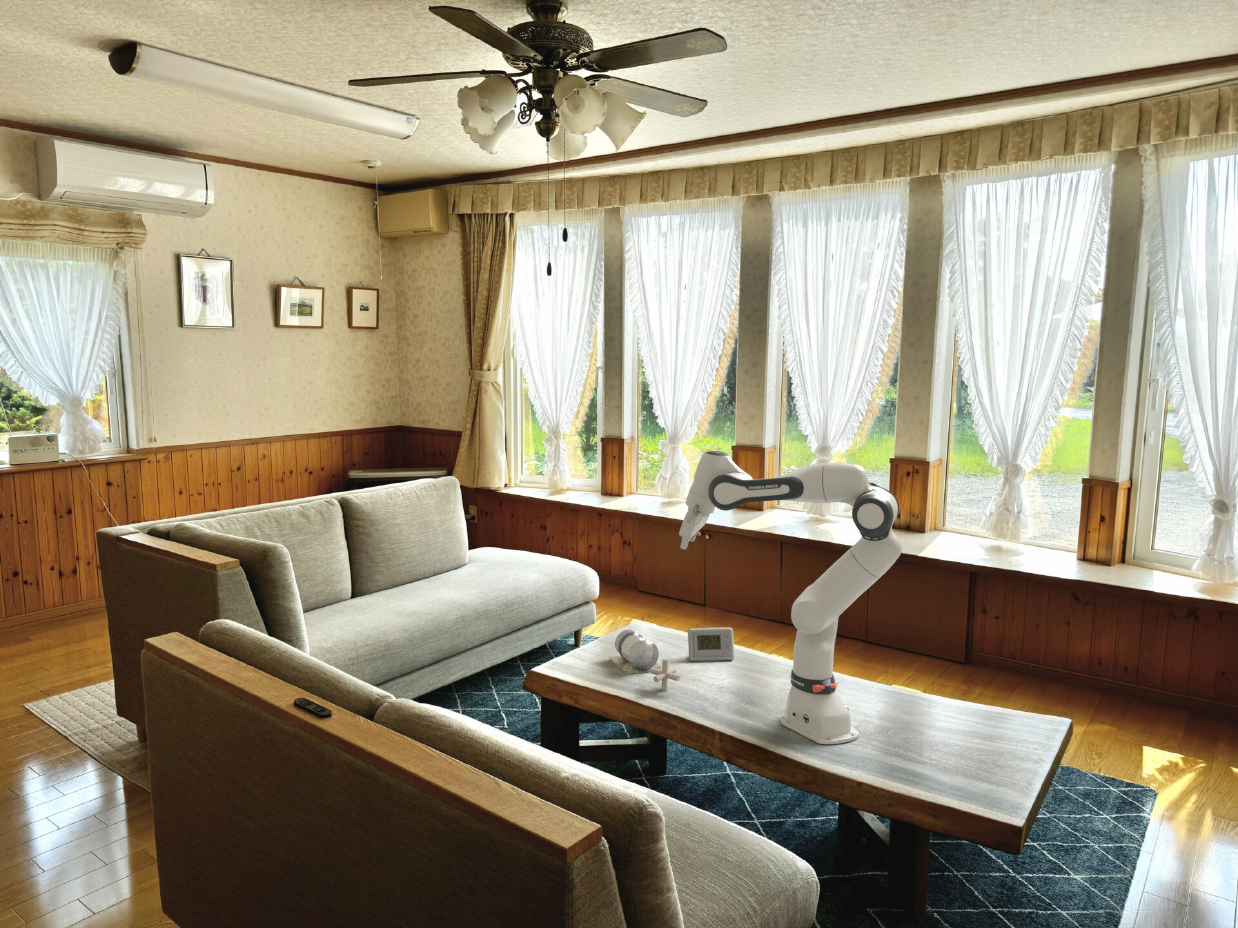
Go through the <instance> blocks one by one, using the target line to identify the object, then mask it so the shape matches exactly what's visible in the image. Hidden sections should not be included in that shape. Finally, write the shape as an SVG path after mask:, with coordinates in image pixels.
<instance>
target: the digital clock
mask: <svg viewBox="0 0 1238 928" xmlns="http://www.w3.org/2000/svg"><path fill="white" fill-rule="evenodd" d="M687 641H688V642H687V643H688V647H687V648H688V658H689V661H691V662H699V663H702V662H703V663H704V662H724V661H731V660H734V659H735V642H734V629H733V628H732V627H721V626H719V627H714V626H713V627H712V626H711V627H697V628H693V627H692V628H689V629H688V630H687Z"/></svg>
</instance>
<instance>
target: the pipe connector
mask: <svg viewBox="0 0 1238 928" xmlns="http://www.w3.org/2000/svg"><path fill="white" fill-rule="evenodd" d="M676 672H677V669H676V667H674V666H673V667H670V668H669V658H666V657H663V658H662V659H661V670H659V669H656V668H651V669H650V671H649V674H652V675H655V676H653V678H652V679H653V682H655V683H658V682H660V681H661V686H660V687H661V692H667V691H668V679H669V680H671V681H675V682H679V681H680V679H681V676H680V675H679V674H676Z"/></svg>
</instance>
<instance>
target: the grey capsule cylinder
mask: <svg viewBox="0 0 1238 928" xmlns="http://www.w3.org/2000/svg"><path fill="white" fill-rule="evenodd" d="M614 647H615V651H616V652H617V653H618V654H619V655H617V656H616V655H615V656H609V657H608V660H609V662H610V663H612V664H613V665H614V666H615V667H616V668H617V669H618V670H620V671H621V672H622V673H623V675H626V676H627V675H633V674H640V673H648V672H649V673H650V669H651V668H656V669H659V670H662V665H660V664H658V663H657V662H658V660H659V655H660V654H659V652H660V651H659V649H658V647H657V645H656V644H655V643H654V642H653V641H651V640H649V639H645V638H644V637H643V635H641V634H640V633H639V632H637V631H635V630H634V629H624V630H622V631H621V632H620V633H619V634H618V635H616V638H615V641H614Z"/></svg>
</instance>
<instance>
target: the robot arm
mask: <svg viewBox="0 0 1238 928" xmlns="http://www.w3.org/2000/svg"><path fill="white" fill-rule="evenodd" d="M869 481H870V480H869V475H868V473H867V471H866V469H865V468H864V467H863V466H862V465H859V464H855V463H854V464H853V463H845V462H823V463H816V464H810V465H806V466H801V467H799V468H797V469H794V470H792V471H790V472H788V473H785V474H783V475H780V476H777V477H767V478H766V477H765V478H756V479H754V478H753V476H752V475H751V474H749V473H747V472H746V471H744V470H743V469H742V468H740V467H739V466H738V465H737V464H736V463H735V462H734V460H732V457H731V456H730V455H729V454H728V453H727V452H724V451H720V450H709V451H706V452H704V453H703V454H702V455H701V457H700V460H699V461H698V464H697V467H696V469H695V473H694V475H693V483H691V485H690V487H689V490H688V494H687V497H686V499H685V502H684V503H685V505H686V506H687V512H686V514H685V515H684V517H683V521H682V524H681V526H680V529H679V531H678V535H679V536H680V537H681V542H680V546H679V547H680V549H682V550H684V551H685V550H686V549H687V548H688V546H689V542H691V543H693V542H695V540H696V537H697V535H698V533H699V531H701V529H702V528H703V527H704V526H705V525H706V523H707V522H708V519H709V517H710V515H711V514H714V512H715V509H718V510H721V511H731V510H734V509H736V508H737V507H740V506H742V505H745V504H748V503H749V504H750V503H758V502H759V503H760V502H776V501H786V502H787V501H789V502H801V503H811V504H813V503H814V504H831V503H844V504H847V505H849V506H850V507H852V508H851V517H852V521H853V523H854V525H855V526H856V528H857V530H858V532H859V533H860V536H861V538H859V540H858V541H857V542H855V543H854V544H853V545H852V546H851V547H850V548H849V549H848V550H847V551H846V552H845V553H844V554H842V555H841V557H839V558H838V559H837V560H836V561H835V562H834V563H833V564H832V565H831V566H830V567H828V569H826V570H825V572H823V574H821V575H820V576H819V577H818V578H817V579H816V580H815V581H814V582H813V583H812V584H810V585H808V586H807V587H806V588H805V589H804V590H803V591H802V592H801V593H800V595H799V596H798V597H797V598H796V599H795V600H794V602H793V604H792V606H791V613H790V614H791V615H790V617H791V618H790V619H791V622H792V625H793V626H794V627H795V629H796V630H797V631H796V635H795V641H794V644H793V662H792V669H791V674H790V684H791V687H790V690H789V692H788V694H787V699H786V704H785V705H786V706H785V712H784V717H783V718H782V719H781V723H780V724H781V725H783V726H784V727H786V728H788V729H790V730H792V731H793V732H796V733H798V734H800V735H801V736H804V737H806V738H807V739H810V740H812V741H813V742H815V743H817V744H819V745H820V744H822V745H836V744H837V745H838V744H843V743H847V742H848V743H849V742H852V741H854V740H856V739H858V738H859V737H860V732H859V731H858V730H857V729H856V728H855V727H854V726H853V725H851V721H852V720H851V713H850V708H849V706H848V705H847V704H844V701H843V699H842V698H841V697H840V695H839V694H838V691H837V690H836V689H837V688H838V687H839V685H838V684H839V682H836V679H835V675H834V673H833V670H834V668H833V667H834V657H835V656H834V654H835V653H834V652H835V645H836V644H835V643H836V638H837V632H838V625H839V624H838V623H839V617H840V616H841V615H842V614H843V613H844V612H845V611H846V610H847V609H848V608H849V607H850V606H851V605H852V604H853V603H854V602H855V601H856V600H857V599H858V598H859V597H860V596H861V595H862V594H863V593H865V592H866V591H867V590H868V589H870V588H871V586H873V585H874V584H875V583H876V582H877V581H878V580H879V579H880V578H881V577H882V576H883V575H885V574H886V573H887V572H888V570H890V569H891V567H892V566H893V565H894V564H895V563H896V561H897V560H898V559H899V557H900V556H901V554H902V551H903V544H902V542H901V540H900V538H899V537H898V536H897V534H895V533H894V530H893V525H894V523H895V521H896V519H897V516H898V515H899V510H900V503H899V500H898V498H897V496H896V495H895V494H894V493H893V492H892V491H890V490H889V489H886V488H884V487H882V486H880V485H878V484H876V483H874V482H869Z"/></svg>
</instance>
